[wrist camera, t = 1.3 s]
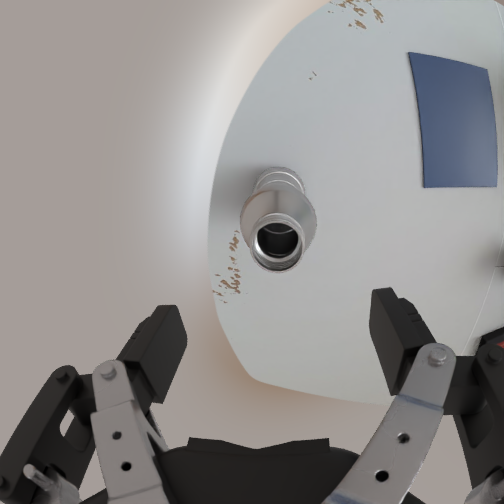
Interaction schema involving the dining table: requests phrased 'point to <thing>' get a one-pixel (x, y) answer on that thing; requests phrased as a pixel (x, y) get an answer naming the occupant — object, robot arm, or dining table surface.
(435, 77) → the flat rectangular board
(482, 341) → the notebook
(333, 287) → the dining table surface
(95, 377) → the robot arm
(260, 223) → the silver metal bottle
